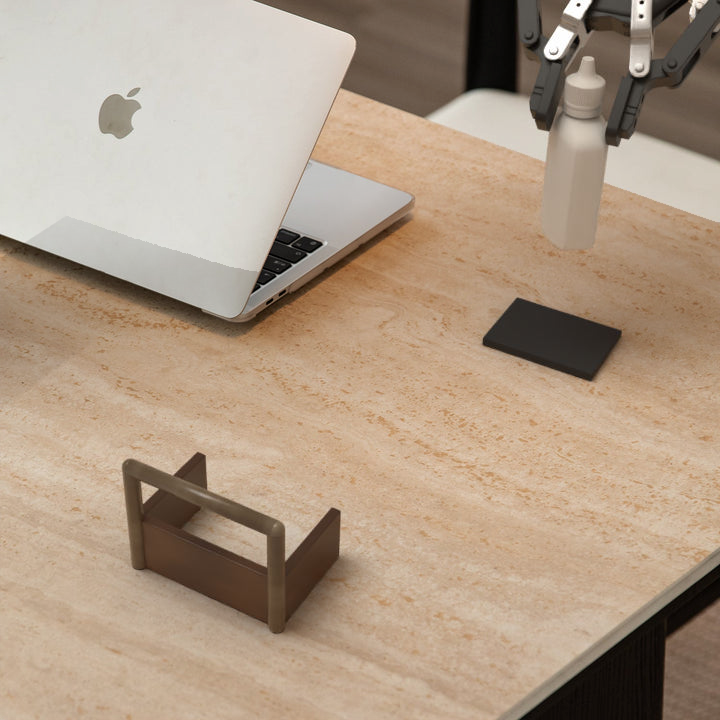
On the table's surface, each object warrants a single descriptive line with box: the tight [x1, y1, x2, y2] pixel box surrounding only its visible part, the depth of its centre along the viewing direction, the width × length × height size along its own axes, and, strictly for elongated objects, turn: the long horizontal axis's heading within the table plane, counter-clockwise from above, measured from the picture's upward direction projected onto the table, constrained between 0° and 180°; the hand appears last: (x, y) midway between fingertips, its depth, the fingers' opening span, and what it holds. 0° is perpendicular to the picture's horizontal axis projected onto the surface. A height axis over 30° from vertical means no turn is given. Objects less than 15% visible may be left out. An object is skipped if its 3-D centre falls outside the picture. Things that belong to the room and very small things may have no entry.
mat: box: [481, 297, 623, 382], centre depth 86 cm, size 8×6×1 cm
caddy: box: [121, 451, 342, 634], centre depth 66 cm, size 10×7×7 cm
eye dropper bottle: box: [539, 55, 610, 252], centre depth 78 cm, size 4×6×12 cm
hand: (577, 132), depth 75 cm, fingers closed on eye dropper bottle, 3 cm apart
